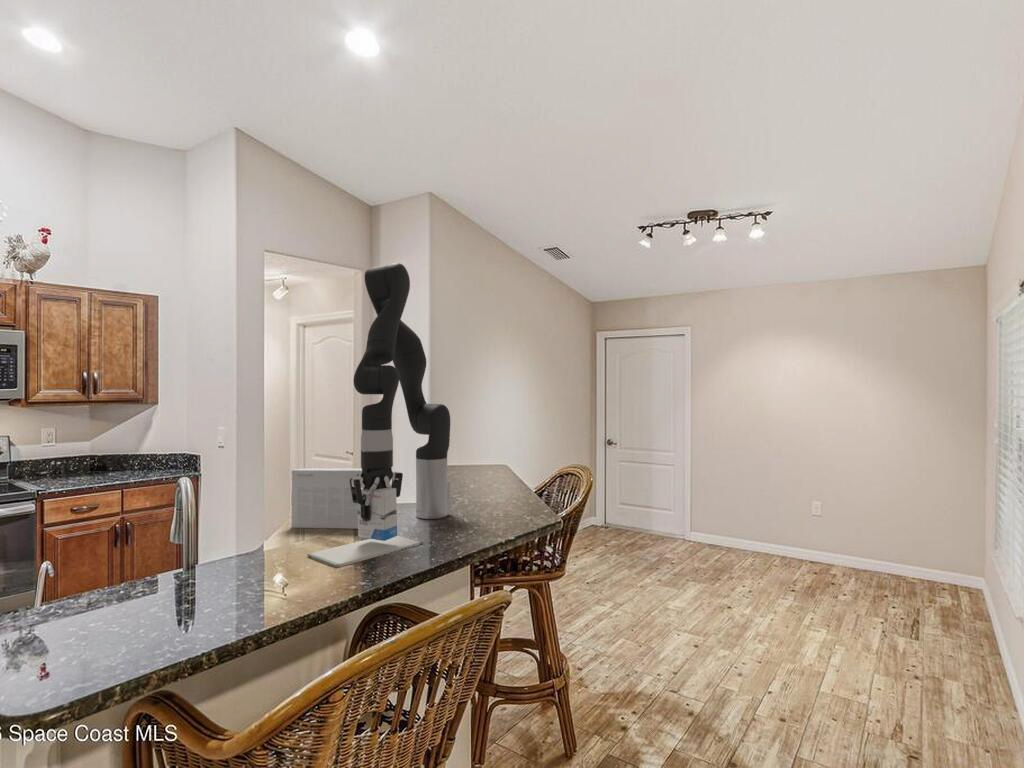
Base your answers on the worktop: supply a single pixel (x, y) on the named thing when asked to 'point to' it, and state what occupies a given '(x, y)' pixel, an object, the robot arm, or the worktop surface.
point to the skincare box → (324, 498)
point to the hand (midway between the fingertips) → (377, 518)
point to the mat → (362, 550)
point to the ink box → (380, 516)
